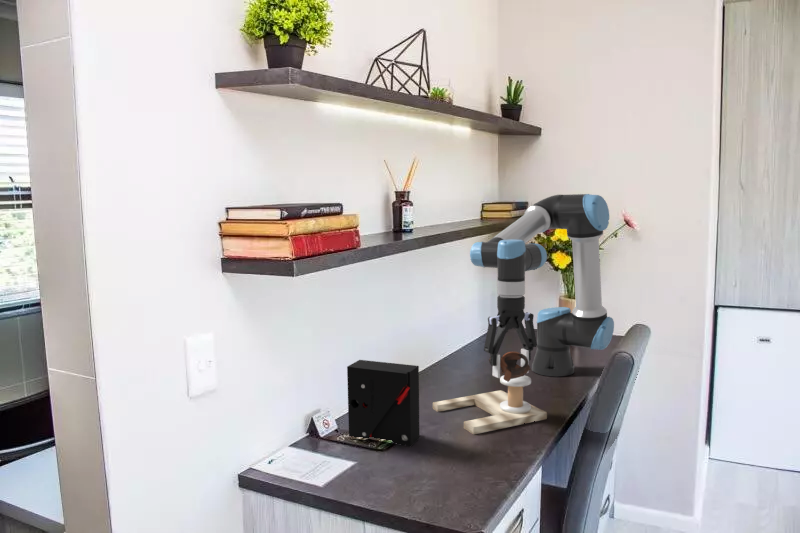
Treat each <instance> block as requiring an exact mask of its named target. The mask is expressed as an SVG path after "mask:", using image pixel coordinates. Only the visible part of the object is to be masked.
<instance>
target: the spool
mask: <svg viewBox="0 0 800 533" xmlns="http://www.w3.org/2000/svg"><path fill="white" fill-rule="evenodd" d="M504 375H505V374H504ZM504 375H500V378H499V383H500V384H501V385H504V386H506V387H507V393H508V400H507V401H503V402H501V403H500V409H501V410H502V411H504V412H507V413H514V414H521V413H527V412H529V411H530V410H531V405H532V404H531V405H530V402H527V401H526V400H524V387H528V386H530V385H531V384H532V378H531V377H530V376H528V375H526V374H524V376H521V377H518V378H514V379H510V381H509V382H507V381H505V380H504Z"/></svg>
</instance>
